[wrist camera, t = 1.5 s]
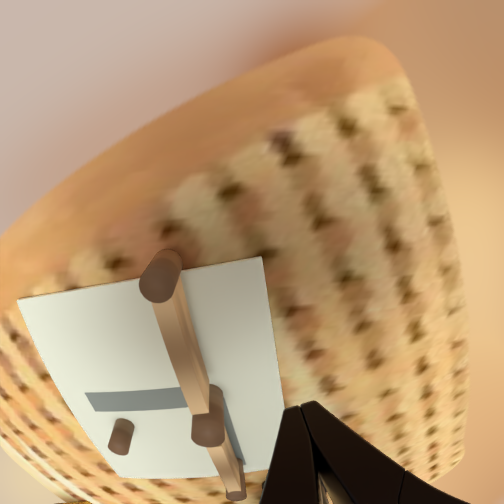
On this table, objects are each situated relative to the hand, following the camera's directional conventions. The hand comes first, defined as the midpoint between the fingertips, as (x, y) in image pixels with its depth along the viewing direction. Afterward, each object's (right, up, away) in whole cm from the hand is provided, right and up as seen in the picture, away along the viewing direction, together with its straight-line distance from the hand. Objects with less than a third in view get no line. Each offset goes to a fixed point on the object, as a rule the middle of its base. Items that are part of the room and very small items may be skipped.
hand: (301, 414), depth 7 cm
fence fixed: (-7, -10, +13) cm, 18 cm away
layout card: (-8, -7, +13) cm, 16 cm away
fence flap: (-5, 0, +10) cm, 11 cm away
